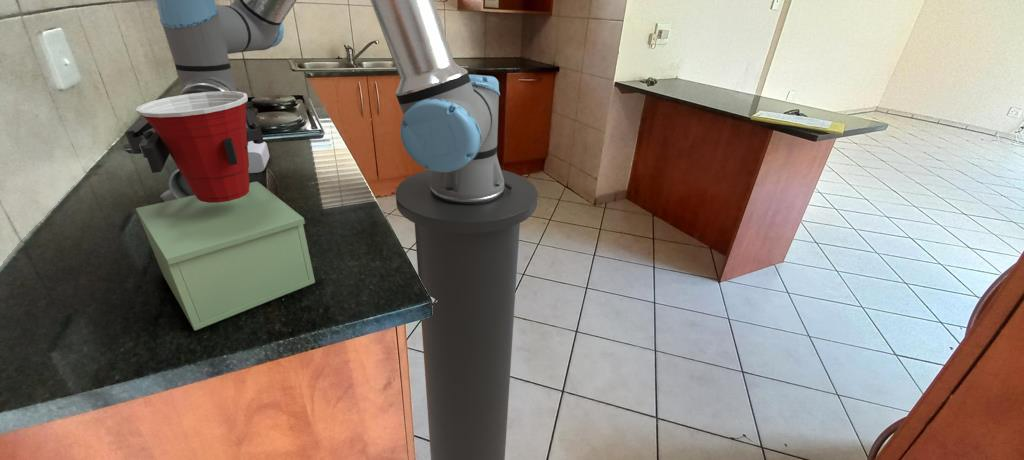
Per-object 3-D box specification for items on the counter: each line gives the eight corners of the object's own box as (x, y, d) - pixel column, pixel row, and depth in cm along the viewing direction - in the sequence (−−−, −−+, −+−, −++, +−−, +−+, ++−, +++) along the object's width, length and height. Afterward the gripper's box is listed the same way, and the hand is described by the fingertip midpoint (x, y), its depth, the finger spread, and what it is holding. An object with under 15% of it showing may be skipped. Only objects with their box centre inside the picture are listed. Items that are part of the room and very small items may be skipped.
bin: (315, 282, 60) (302, 221, 56) (194, 331, 51) (166, 262, 46) (272, 241, 69) (258, 186, 65) (163, 276, 60) (137, 214, 55)
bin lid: (305, 223, 55) (304, 218, 55) (168, 265, 46) (166, 258, 45) (258, 186, 65) (257, 181, 64) (137, 213, 55) (135, 208, 55)
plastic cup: (184, 181, 57) (152, 88, 51) (274, 175, 60) (254, 88, 55) (155, 217, 48) (113, 109, 42) (263, 207, 51) (238, 107, 46)
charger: (273, 151, 108) (265, 172, 96) (232, 153, 105) (217, 175, 93) (269, 133, 106) (260, 151, 93) (226, 135, 103) (211, 154, 90)
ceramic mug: (232, 188, 87) (221, 151, 83) (223, 204, 80) (211, 165, 77) (171, 193, 84) (156, 156, 80) (156, 211, 77) (140, 171, 73)
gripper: (283, 129, 70) (295, 177, 53) (135, 139, 62) (91, 201, 44) (274, 82, 67) (283, 116, 49) (115, 86, 58) (59, 130, 41)
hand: (192, 156), depth 47 cm, fingers closed on plastic cup, 6 cm apart
